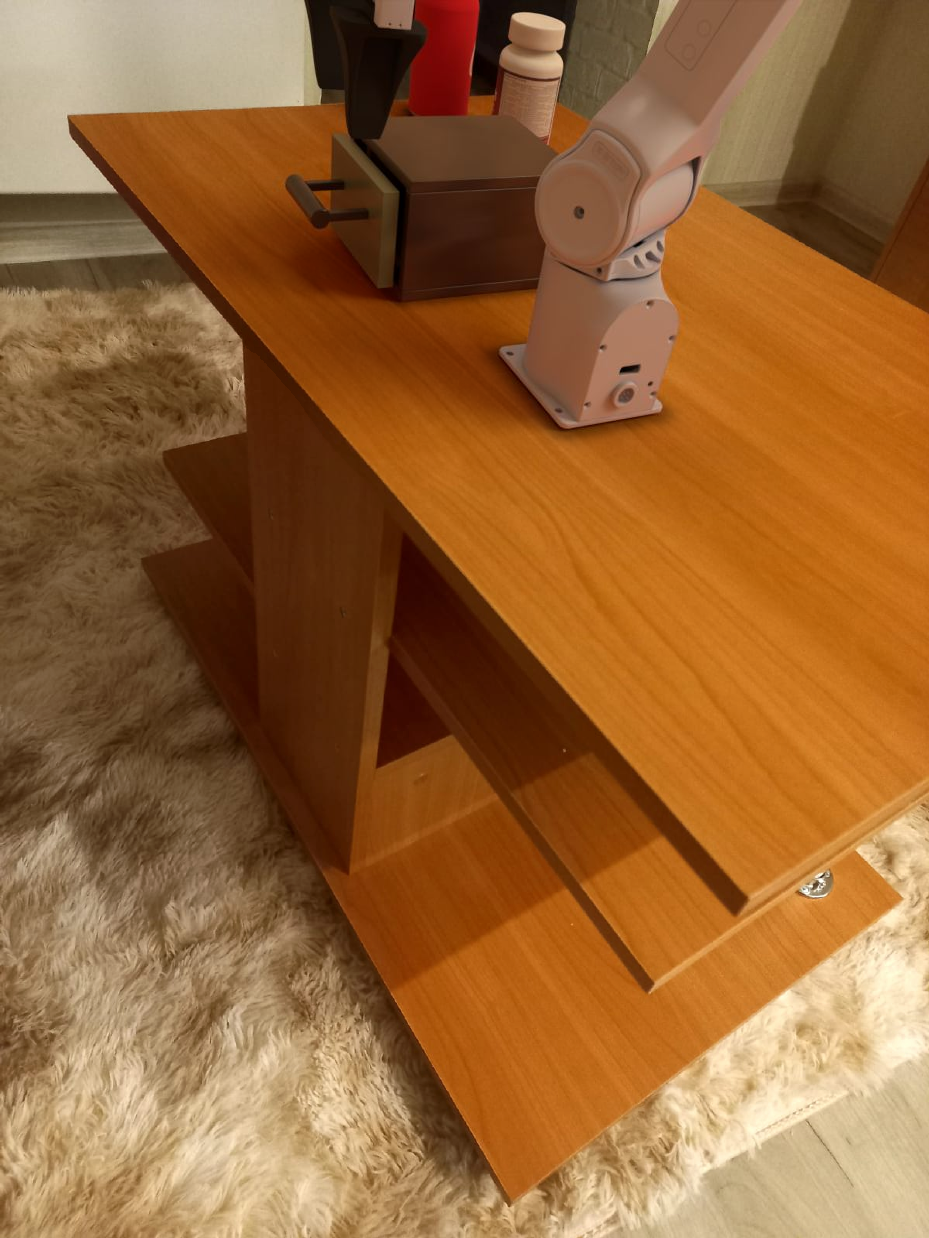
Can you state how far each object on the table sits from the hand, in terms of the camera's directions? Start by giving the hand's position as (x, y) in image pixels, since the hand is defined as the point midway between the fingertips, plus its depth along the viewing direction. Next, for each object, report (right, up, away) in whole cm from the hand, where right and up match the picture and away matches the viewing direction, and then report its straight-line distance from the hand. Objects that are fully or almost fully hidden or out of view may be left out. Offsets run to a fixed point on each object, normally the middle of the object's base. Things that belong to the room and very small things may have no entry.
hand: (347, 111), depth 59 cm
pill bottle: (+13, +13, +30) cm, 35 cm away
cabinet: (+7, -5, +11) cm, 14 cm away
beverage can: (+5, +18, +33) cm, 38 cm away
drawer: (+3, -6, +9) cm, 11 cm away
